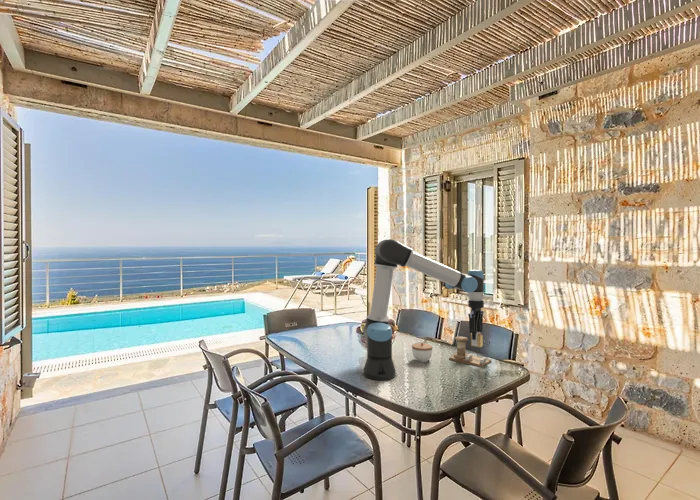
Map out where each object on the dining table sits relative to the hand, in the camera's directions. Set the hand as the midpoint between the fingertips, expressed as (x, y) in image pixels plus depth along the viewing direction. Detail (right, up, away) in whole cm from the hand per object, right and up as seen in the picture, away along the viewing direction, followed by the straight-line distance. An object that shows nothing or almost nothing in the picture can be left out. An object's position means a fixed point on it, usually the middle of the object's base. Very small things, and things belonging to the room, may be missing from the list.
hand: (476, 344), depth 184 cm
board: (-1, -10, +5) cm, 11 cm away
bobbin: (-5, -10, +9) cm, 14 cm away
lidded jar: (-27, -10, +6) cm, 29 cm away
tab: (0, 0, 0) cm, 1 cm away
